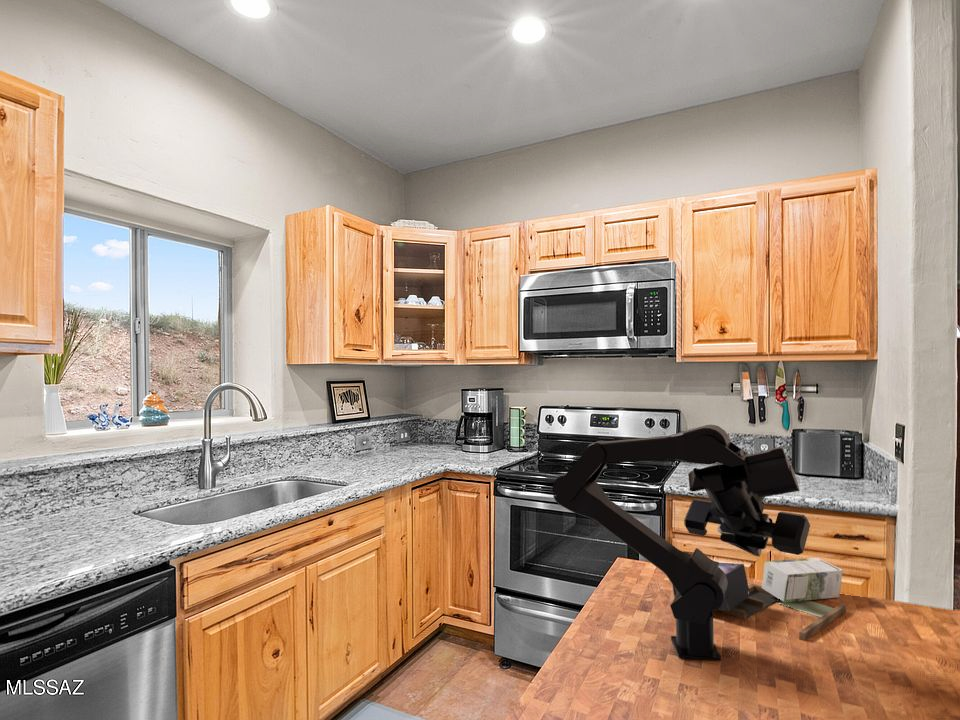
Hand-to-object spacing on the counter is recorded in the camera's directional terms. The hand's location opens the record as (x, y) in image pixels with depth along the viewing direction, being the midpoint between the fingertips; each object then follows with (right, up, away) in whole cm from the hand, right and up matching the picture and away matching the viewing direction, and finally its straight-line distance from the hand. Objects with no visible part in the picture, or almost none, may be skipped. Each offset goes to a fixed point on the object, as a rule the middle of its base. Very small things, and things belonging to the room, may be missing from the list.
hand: (758, 553), depth 95 cm
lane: (+8, -14, +8) cm, 18 cm away
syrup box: (+9, -10, +12) cm, 18 cm away
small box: (-8, -11, +15) cm, 20 cm away
